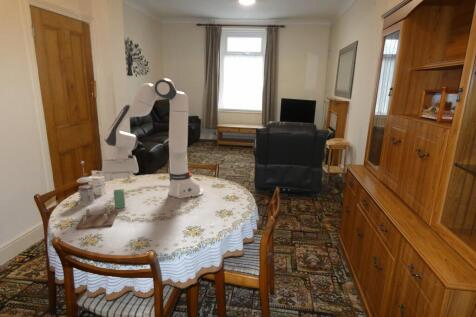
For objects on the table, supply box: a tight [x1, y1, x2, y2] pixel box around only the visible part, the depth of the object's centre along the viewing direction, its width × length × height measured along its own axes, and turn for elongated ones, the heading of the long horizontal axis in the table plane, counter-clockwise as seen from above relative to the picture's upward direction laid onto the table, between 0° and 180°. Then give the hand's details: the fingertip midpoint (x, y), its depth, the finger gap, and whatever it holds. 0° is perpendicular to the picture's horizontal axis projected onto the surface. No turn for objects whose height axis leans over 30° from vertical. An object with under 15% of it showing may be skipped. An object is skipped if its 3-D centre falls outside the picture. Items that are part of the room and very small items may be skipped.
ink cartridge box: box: [87, 170, 107, 197], centre depth 179 cm, size 9×5×15 cm, turn 84°
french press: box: [76, 160, 97, 207], centre depth 165 cm, size 10×12×25 cm
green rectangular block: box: [113, 188, 126, 209], centre depth 162 cm, size 5×3×10 cm, turn 105°
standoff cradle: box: [75, 207, 117, 231], centre depth 146 cm, size 16×14×5 cm
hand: (120, 179), depth 169 cm, fingers open, 8 cm apart
